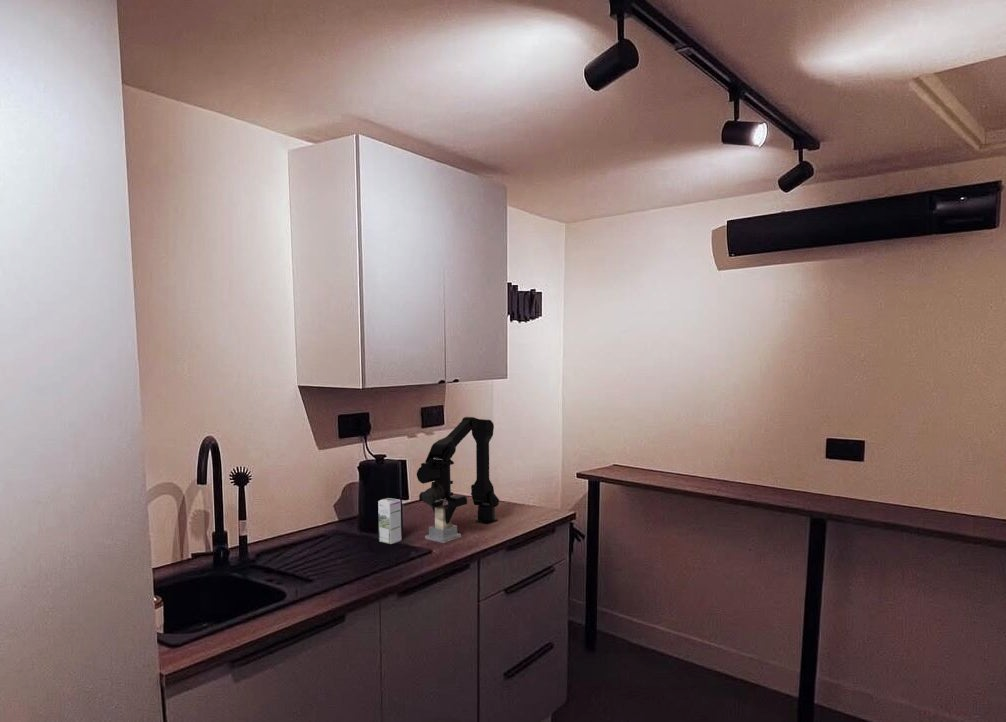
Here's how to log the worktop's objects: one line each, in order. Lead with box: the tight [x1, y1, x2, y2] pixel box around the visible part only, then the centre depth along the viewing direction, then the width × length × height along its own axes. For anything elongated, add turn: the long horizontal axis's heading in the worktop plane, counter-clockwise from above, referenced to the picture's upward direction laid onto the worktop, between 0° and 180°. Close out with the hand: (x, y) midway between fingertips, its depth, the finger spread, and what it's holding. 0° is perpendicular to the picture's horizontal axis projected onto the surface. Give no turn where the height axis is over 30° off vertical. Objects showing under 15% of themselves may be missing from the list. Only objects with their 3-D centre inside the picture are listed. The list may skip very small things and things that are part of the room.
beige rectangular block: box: [434, 504, 452, 529], centre depth 215 cm, size 4×4×8 cm
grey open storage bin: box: [424, 524, 462, 544], centre depth 215 cm, size 9×9×4 cm
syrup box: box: [377, 497, 402, 545], centre depth 212 cm, size 6×6×14 cm
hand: (443, 522), depth 215 cm, fingers closed on beige rectangular block, 4 cm apart
